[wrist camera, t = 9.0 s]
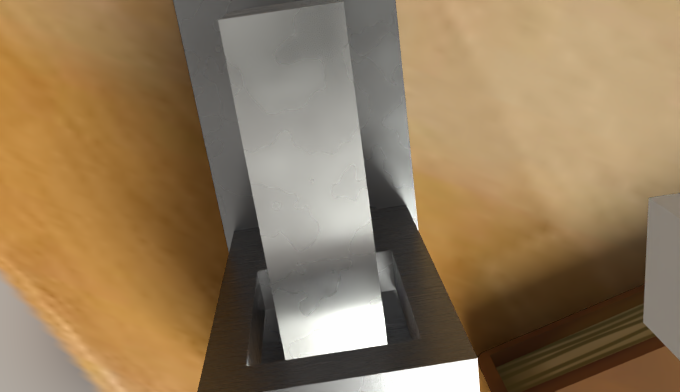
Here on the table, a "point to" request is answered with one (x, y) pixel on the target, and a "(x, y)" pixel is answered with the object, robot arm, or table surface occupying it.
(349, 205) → the light grey square rod
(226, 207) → the grey slotted frame stand
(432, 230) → the table surface
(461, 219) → the table surface
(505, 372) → the diary
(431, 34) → the table surface
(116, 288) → the table surface
